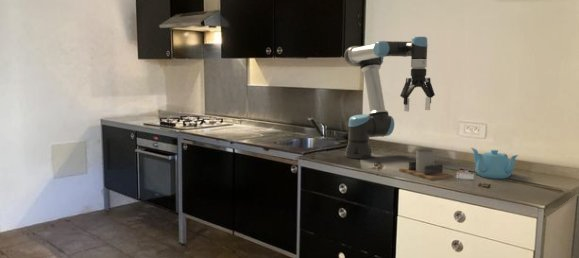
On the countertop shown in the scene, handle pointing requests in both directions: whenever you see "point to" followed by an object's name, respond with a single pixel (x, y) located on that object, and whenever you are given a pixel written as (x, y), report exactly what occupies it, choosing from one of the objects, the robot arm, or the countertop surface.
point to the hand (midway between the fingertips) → (417, 110)
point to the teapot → (493, 164)
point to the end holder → (427, 171)
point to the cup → (424, 159)
